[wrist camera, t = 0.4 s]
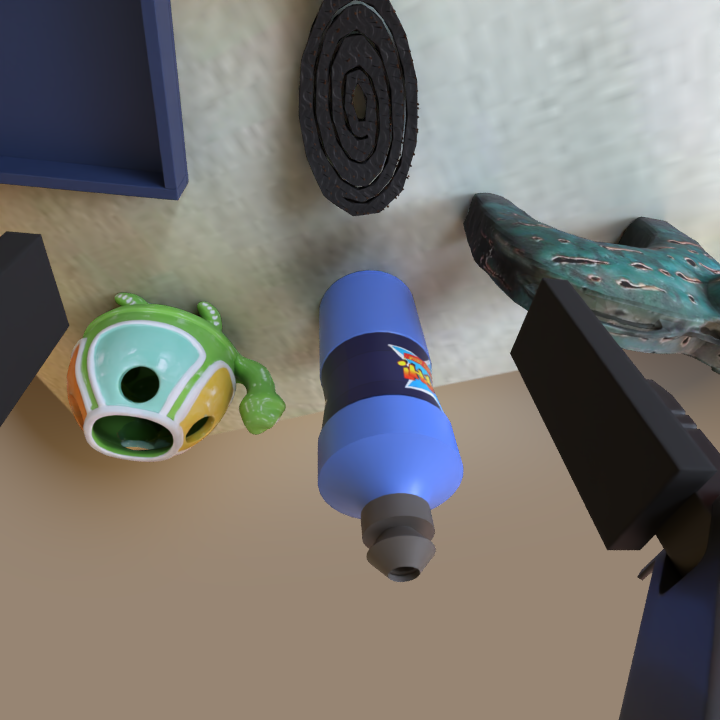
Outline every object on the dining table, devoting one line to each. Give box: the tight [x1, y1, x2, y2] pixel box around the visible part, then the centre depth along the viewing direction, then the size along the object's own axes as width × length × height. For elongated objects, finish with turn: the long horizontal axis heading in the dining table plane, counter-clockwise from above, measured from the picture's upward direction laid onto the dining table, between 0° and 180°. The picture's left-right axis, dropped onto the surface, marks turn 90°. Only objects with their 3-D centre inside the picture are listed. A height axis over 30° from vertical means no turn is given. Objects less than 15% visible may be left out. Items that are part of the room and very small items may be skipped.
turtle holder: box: [67, 293, 286, 462], centre depth 41 cm, size 12×18×12 cm
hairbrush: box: [299, 0, 419, 216], centre depth 28 cm, size 8×4×25 cm
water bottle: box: [318, 270, 463, 582], centre depth 35 cm, size 9×9×25 cm
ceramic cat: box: [463, 193, 720, 374], centre depth 33 cm, size 20×6×20 cm, turn 79°
